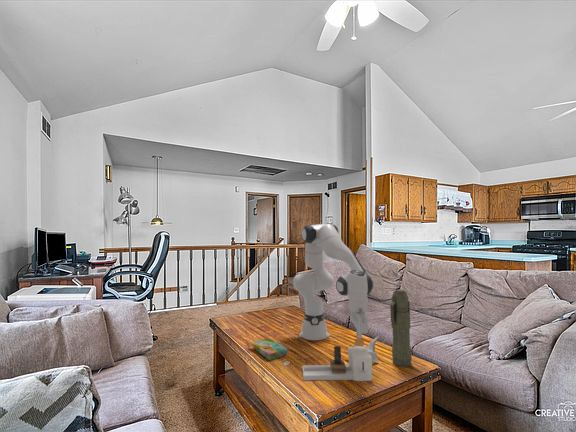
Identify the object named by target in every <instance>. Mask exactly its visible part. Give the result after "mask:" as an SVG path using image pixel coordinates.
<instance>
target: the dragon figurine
mask: <svg viewBox="0 0 576 432" xmlns="http://www.w3.org/2000/svg"><path fill="white" fill-rule="evenodd" d="M379 338H380V335H378V336H376V337H374V338H373V339H371V341H370V342H369V344H368V345H367V347H366V349H367V351H368V352H369V354H370V355H371V357H372V365H375V362H379V356H378V354H377V353H376V343H377V342H378V339H379ZM353 347H364V346H356V345H355V344H354V346H353ZM346 354H347V355H348V348H347V349H346ZM347 358H348V359H349V356H347Z"/></svg>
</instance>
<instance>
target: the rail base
mask: <svg viewBox="0 0 576 432" xmlns="http://www.w3.org/2000/svg"><path fill="white" fill-rule="evenodd" d="M366 348H367V347H366V346H363V347H354V346H348V347H347V349H348V354H347V355H348V356H347V357H349V358H348V364H345V366H346V373H332V367H331V366H330V364H327V365H326V364H325V365H324V364H317V365H315V364H314V365H311V364H310V365H309V364H308V365H307V364H306V365H305V364H304V365H302V377H303V378H302V379H303V381H343V380H344V381H351V380H352V381H354V382H364V381H366V382H368V381H369V382H372V381H373V364H372V357H371V355H370V354H369V352H368V351H367V349H366Z"/></svg>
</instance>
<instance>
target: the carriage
mask: <svg viewBox="0 0 576 432" xmlns="http://www.w3.org/2000/svg"><path fill="white" fill-rule="evenodd" d="M333 348H334V349H333V357H334V359H329V361H330V363H329V365H330V366H331V367H332V373H346V366H345V365H346V364H345V361H344V359H342V351H341V350H342V347H341V346H340V345H335V346H333Z"/></svg>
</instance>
